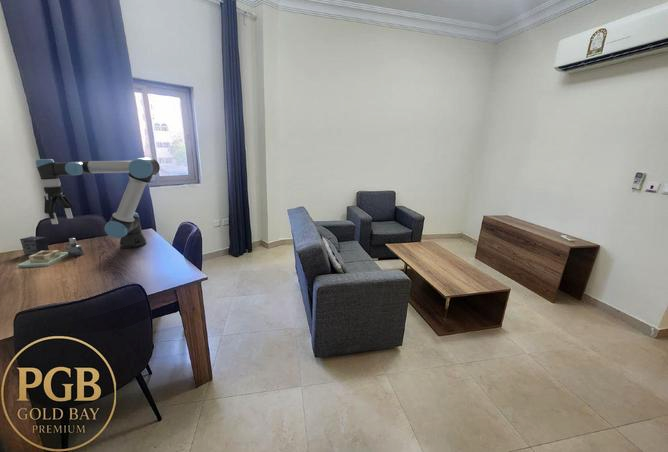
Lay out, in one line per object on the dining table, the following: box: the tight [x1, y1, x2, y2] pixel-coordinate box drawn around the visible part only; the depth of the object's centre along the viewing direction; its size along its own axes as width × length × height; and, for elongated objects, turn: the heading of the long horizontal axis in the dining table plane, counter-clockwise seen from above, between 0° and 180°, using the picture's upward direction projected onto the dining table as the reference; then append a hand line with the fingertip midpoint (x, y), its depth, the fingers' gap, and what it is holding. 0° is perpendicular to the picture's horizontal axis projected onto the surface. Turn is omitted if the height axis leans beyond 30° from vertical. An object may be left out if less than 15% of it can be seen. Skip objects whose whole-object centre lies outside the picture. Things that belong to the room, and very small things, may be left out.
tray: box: [17, 251, 69, 268], centre depth 159 cm, size 14×18×2 cm
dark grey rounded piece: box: [65, 237, 85, 258], centre depth 167 cm, size 7×7×11 cm
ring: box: [28, 249, 61, 263], centre depth 159 cm, size 9×9×4 cm
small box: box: [19, 235, 50, 256], centre depth 167 cm, size 11×6×10 cm, turn 84°
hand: (63, 221), depth 163 cm, fingers open, 13 cm apart
